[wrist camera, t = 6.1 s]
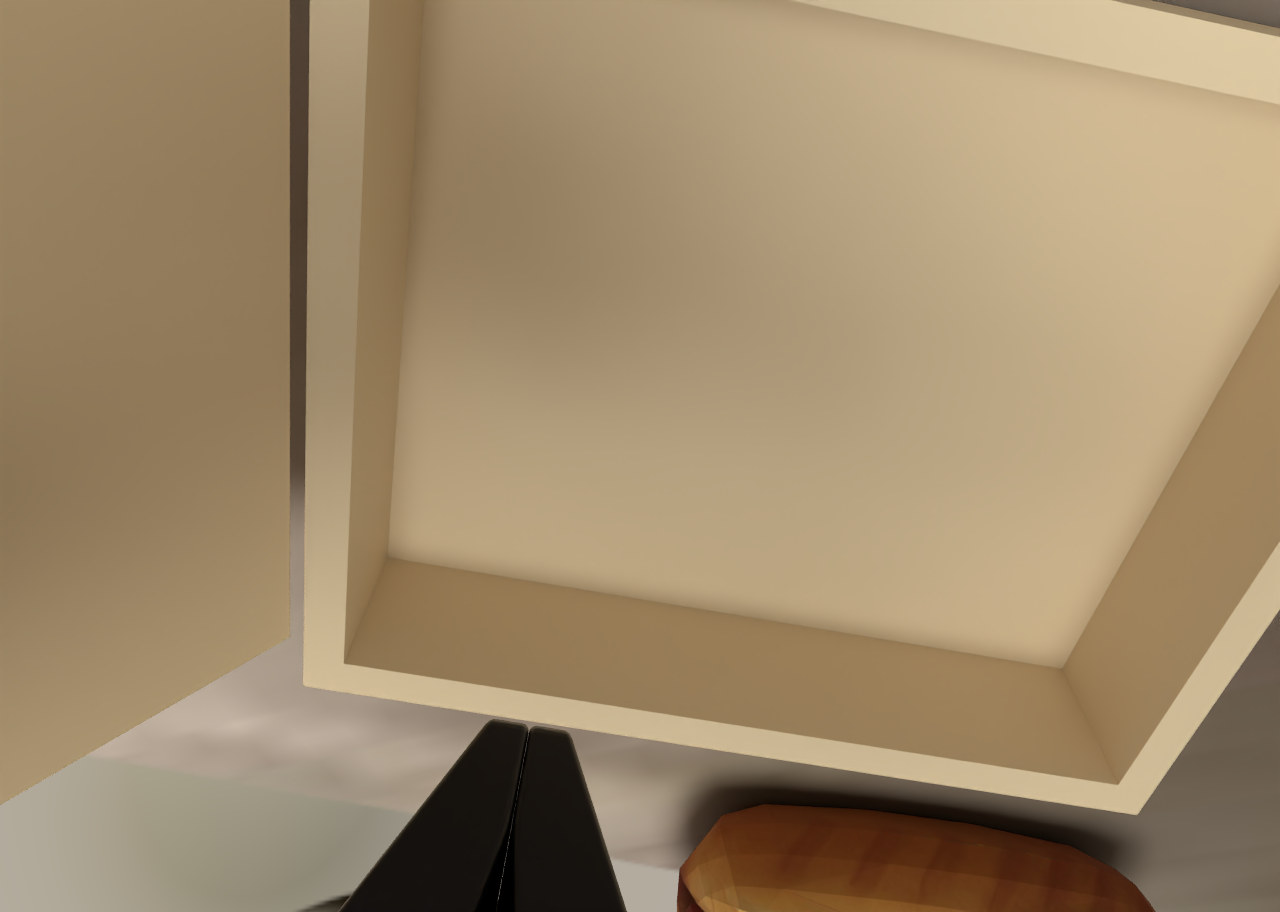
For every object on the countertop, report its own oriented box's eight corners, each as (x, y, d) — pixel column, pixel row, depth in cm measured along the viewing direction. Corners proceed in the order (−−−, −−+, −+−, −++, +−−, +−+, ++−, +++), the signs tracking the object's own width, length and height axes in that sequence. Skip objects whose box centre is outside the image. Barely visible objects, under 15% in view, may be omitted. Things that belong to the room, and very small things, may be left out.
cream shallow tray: (1427, 61, 17) (1623, 112, 13) (1071, 679, 25) (1137, 814, 21) (392, -167, 16) (310, -174, 12) (358, 563, 23) (303, 685, 20)
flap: (-681, -98, 7) (-697, -110, 7) (-214, 928, 13) (-230, 905, 13) (289, -44, 13) (264, -52, 13) (289, 636, 19) (273, 624, 19)
